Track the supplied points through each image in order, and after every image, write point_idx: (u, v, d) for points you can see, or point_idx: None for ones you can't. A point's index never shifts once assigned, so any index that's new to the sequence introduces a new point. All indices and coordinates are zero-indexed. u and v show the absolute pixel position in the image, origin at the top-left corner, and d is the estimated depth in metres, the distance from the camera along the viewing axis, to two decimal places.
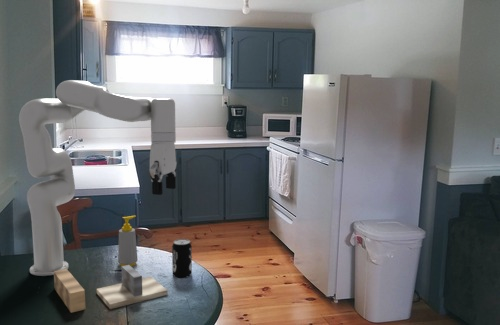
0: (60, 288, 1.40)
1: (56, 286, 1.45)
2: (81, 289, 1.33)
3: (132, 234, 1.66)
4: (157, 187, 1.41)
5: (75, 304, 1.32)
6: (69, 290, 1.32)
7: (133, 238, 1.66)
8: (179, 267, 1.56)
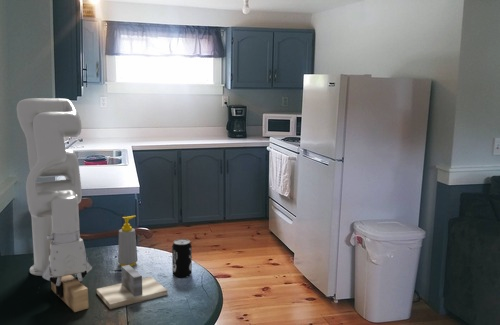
0: None
1: (54, 286, 1.44)
2: (84, 287, 1.34)
3: (132, 234, 1.66)
4: None
5: (78, 302, 1.32)
6: (72, 289, 1.33)
7: (133, 238, 1.66)
8: (179, 267, 1.56)
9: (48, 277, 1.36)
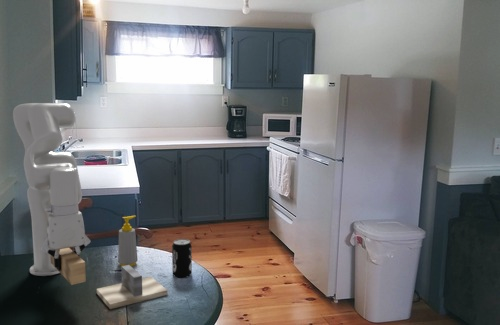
0: None
1: (53, 259, 1.44)
2: (81, 261, 1.33)
3: (132, 234, 1.66)
4: None
5: (76, 275, 1.31)
6: (69, 262, 1.32)
7: (133, 238, 1.66)
8: (179, 267, 1.56)
9: (46, 250, 1.35)
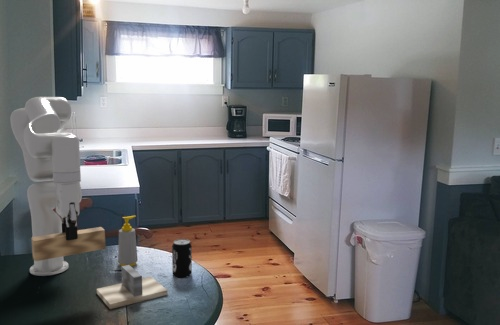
0: None
1: None
2: (37, 239, 1.32)
3: (132, 234, 1.66)
4: (74, 232, 1.35)
5: (32, 250, 1.33)
6: (40, 236, 1.35)
7: (133, 238, 1.66)
8: (179, 267, 1.56)
9: None
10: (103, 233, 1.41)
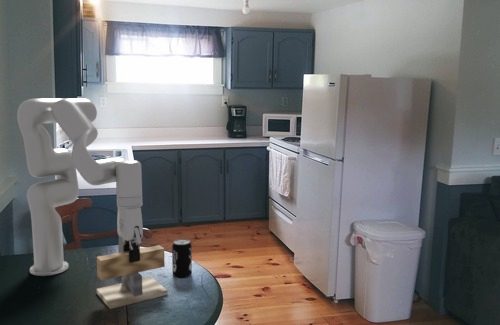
0: None
1: None
2: (103, 259, 1.36)
3: None
4: (137, 254, 1.39)
5: (98, 269, 1.37)
6: (104, 255, 1.39)
7: (133, 238, 1.66)
8: (179, 267, 1.56)
9: None
10: (163, 252, 1.46)
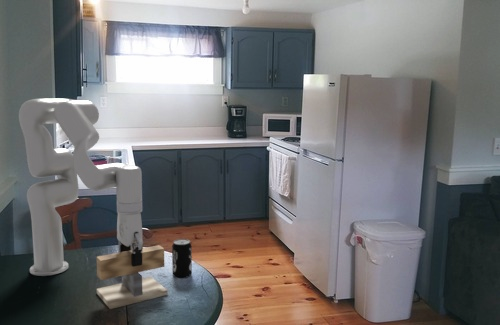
0: None
1: None
2: (103, 259, 1.36)
3: None
4: (139, 258, 1.38)
5: (98, 269, 1.37)
6: (104, 255, 1.39)
7: None
8: (179, 267, 1.56)
9: None
10: (162, 251, 1.46)
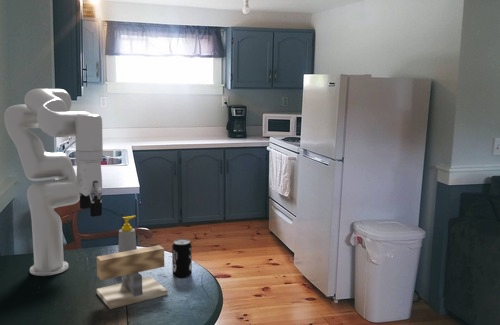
0: None
1: None
2: (103, 259, 1.36)
3: (132, 234, 1.66)
4: (98, 208, 1.34)
5: (98, 269, 1.37)
6: (104, 255, 1.39)
7: (133, 238, 1.66)
8: (179, 267, 1.56)
9: None
10: (162, 251, 1.46)
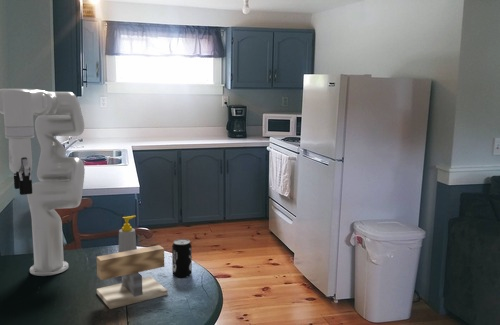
0: None
1: None
2: (103, 259, 1.36)
3: (132, 234, 1.66)
4: (28, 186, 1.30)
5: (98, 269, 1.37)
6: (104, 255, 1.39)
7: (133, 238, 1.66)
8: (179, 267, 1.56)
9: None
10: (162, 251, 1.46)
